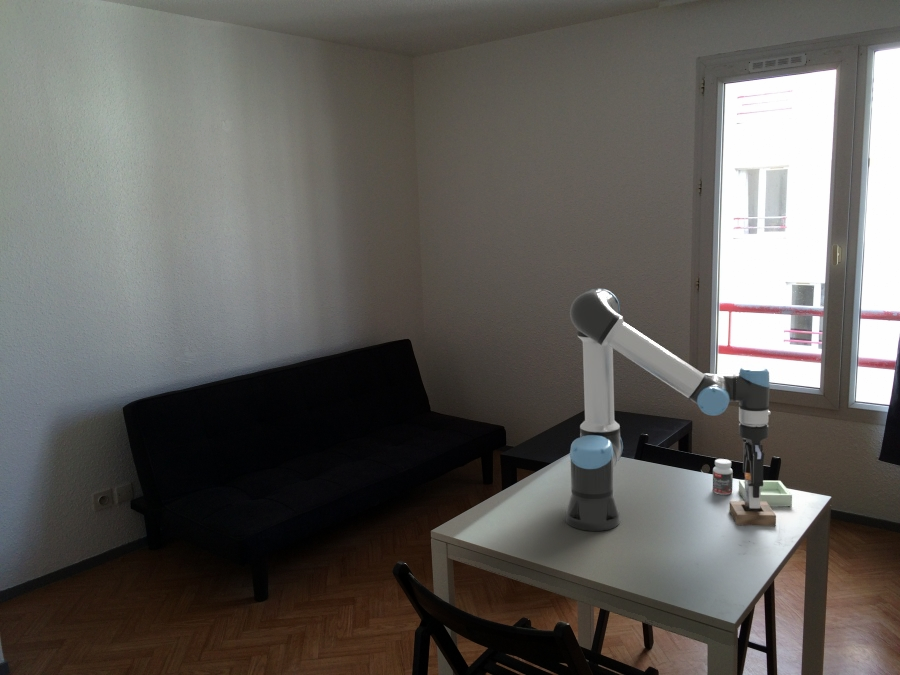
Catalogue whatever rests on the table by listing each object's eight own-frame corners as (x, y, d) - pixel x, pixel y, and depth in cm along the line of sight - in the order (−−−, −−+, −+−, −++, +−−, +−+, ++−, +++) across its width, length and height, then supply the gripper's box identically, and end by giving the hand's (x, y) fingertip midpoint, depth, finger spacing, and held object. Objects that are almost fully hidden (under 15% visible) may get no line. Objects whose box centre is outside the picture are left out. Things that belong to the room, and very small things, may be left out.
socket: (737, 525, 200) (737, 514, 200) (729, 510, 210) (729, 500, 209) (775, 525, 198) (776, 515, 198) (766, 511, 208) (766, 501, 208)
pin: (746, 520, 202) (746, 476, 201) (742, 515, 206) (743, 471, 204) (761, 521, 202) (762, 476, 200) (757, 515, 206) (758, 471, 204)
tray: (748, 505, 213) (748, 494, 212) (738, 491, 224) (738, 480, 224) (791, 506, 211) (792, 495, 210) (780, 491, 222) (780, 480, 222)
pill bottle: (712, 494, 223) (712, 463, 221) (712, 488, 228) (713, 457, 226) (732, 496, 221) (732, 464, 219) (732, 489, 226) (733, 459, 224)
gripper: (777, 432, 191) (775, 516, 194) (759, 414, 208) (758, 492, 212) (747, 432, 192) (745, 516, 195) (732, 414, 209) (731, 492, 213)
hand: (752, 503), depth 203 cm, fingers open, 5 cm apart
